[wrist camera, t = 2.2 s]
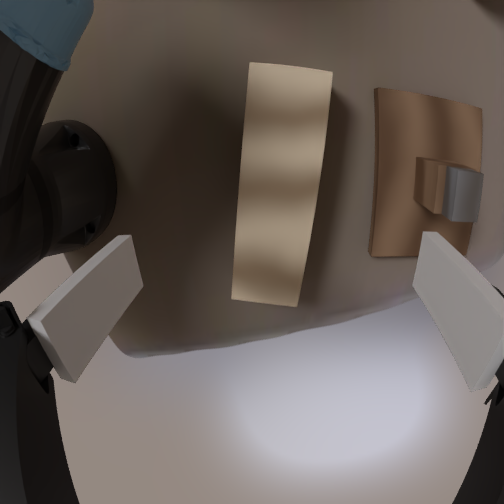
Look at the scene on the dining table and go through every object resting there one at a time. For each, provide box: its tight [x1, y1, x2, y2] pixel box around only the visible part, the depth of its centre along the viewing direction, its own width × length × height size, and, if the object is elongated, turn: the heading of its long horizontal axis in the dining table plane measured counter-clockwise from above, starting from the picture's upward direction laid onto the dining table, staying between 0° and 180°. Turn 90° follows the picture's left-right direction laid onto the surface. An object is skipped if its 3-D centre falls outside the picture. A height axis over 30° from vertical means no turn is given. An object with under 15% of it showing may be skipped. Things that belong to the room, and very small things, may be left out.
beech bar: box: [231, 62, 333, 307], centre depth 24 cm, size 20×6×5 cm, turn 175°
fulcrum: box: [368, 88, 484, 257], centre depth 21 cm, size 12×16×7 cm
